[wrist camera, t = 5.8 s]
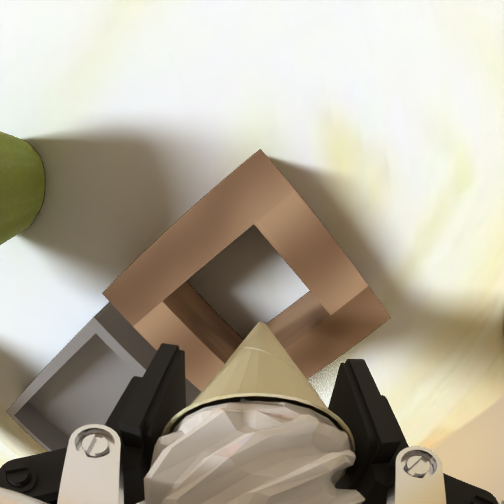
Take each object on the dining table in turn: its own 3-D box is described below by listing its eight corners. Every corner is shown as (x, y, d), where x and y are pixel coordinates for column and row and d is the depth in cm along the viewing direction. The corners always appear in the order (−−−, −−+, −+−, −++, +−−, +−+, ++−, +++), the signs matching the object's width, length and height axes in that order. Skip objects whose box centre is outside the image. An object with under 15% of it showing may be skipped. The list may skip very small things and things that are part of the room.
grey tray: (261, 431, 24) (261, 462, 21) (135, 486, 27) (128, 509, 24) (115, 296, 21) (93, 317, 18) (22, 392, 24) (6, 411, 21)
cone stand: (366, 289, 21) (390, 317, 16) (240, 380, 23) (236, 421, 18) (259, 153, 19) (260, 148, 14) (130, 269, 21) (102, 293, 16)
